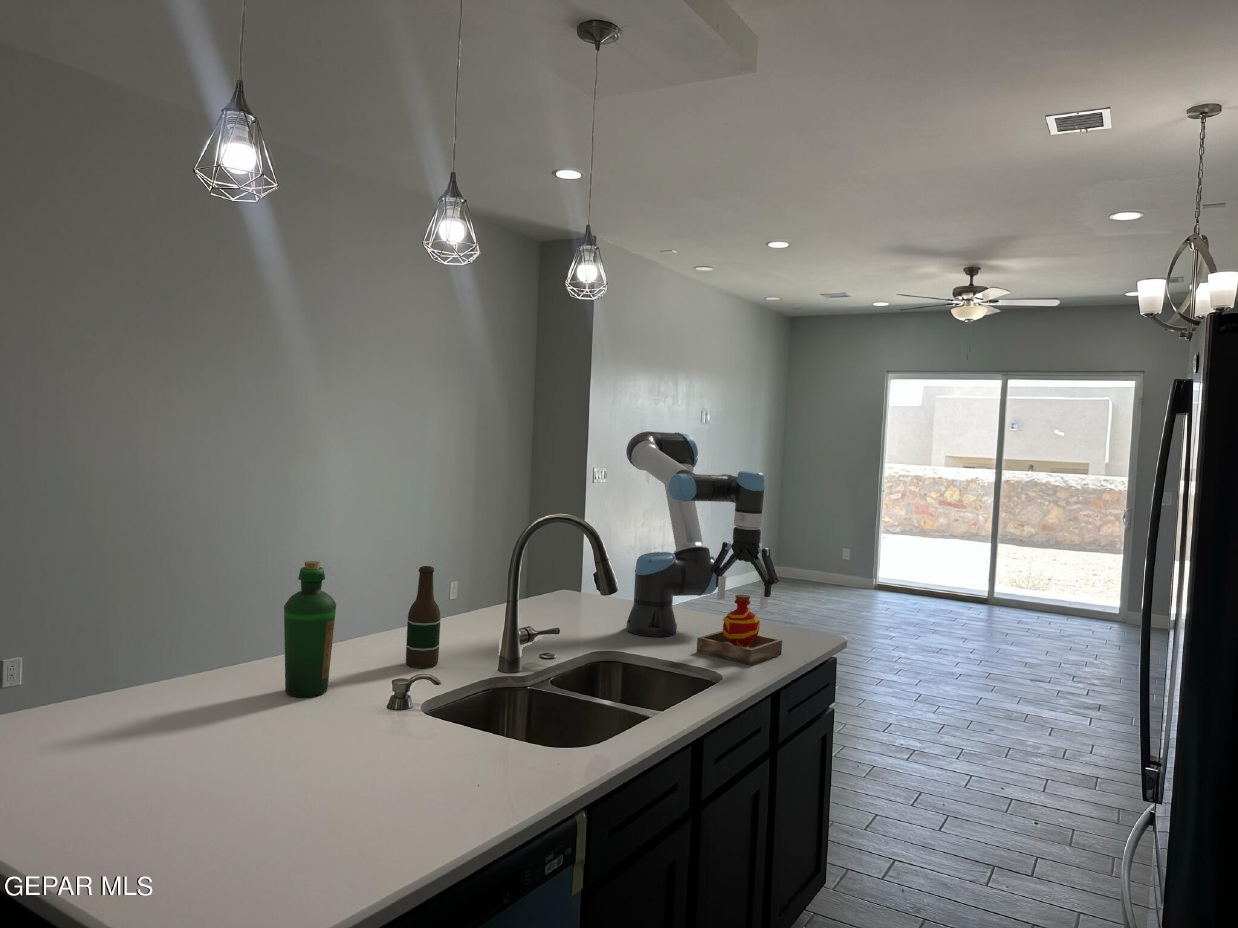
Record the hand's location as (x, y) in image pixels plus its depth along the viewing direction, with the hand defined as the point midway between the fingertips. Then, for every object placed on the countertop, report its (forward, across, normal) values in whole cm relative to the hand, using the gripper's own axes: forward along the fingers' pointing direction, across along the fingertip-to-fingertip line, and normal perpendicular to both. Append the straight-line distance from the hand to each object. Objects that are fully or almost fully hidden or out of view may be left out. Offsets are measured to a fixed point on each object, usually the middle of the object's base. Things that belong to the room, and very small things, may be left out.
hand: (741, 603), depth 237 cm
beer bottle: (+14, -45, -73) cm, 87 cm away
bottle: (+14, -44, -105) cm, 115 cm away
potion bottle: (+13, +1, 0) cm, 13 cm away
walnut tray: (+14, +1, 0) cm, 14 cm away
